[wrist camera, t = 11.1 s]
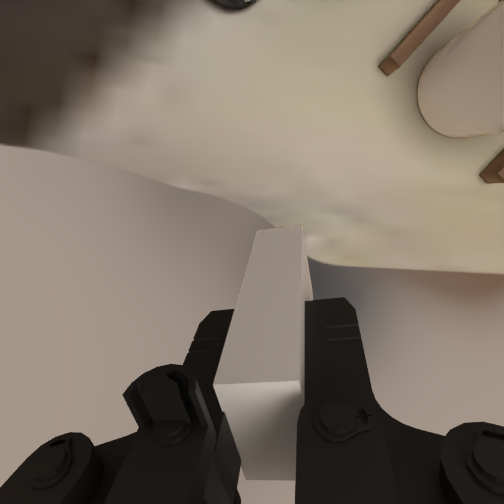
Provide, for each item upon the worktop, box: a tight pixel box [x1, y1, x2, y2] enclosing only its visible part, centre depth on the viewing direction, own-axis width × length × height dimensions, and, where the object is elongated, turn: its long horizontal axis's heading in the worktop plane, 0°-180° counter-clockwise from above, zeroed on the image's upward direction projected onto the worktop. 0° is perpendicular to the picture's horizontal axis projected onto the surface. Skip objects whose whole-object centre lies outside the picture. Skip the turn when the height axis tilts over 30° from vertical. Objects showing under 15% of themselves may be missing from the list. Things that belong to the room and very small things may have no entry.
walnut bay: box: [378, 0, 504, 183], centre depth 32 cm, size 15×13×2 cm
